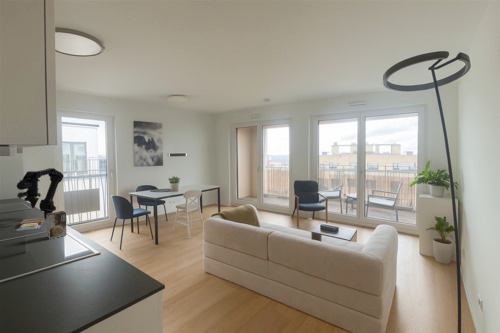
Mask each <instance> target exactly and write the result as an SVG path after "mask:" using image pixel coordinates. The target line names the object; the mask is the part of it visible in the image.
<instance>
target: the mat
mask: <svg viewBox="0 0 500 333" xmlns="http://www.w3.org/2000/svg"><path fill="white" fill-rule="evenodd" d="M41 227H42V225H38V226H37V227H36V228H29V229H21V227H18V228H17V229H16V232H20V231H27V230H29V231H30V230H38V229H40V228H41Z"/></svg>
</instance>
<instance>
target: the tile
mask: <svg viewBox="0 0 500 333" xmlns="http://www.w3.org/2000/svg"><path fill="white" fill-rule="evenodd" d="M37 226H38V223H30V224H23V225H22V226H21V229H29V228H36V227H37Z"/></svg>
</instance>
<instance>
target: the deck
mask: <svg viewBox="0 0 500 333" xmlns="http://www.w3.org/2000/svg"><path fill="white" fill-rule="evenodd" d="M45 222H46V219H45V217H44V216H43V217H33V218H32V217H31V218H23V220H21V221H20V223H19V224H18V225H19V227H21V226H22V225H23V224H30V223H38V225H41V226H42V225H43V224H44V223H45ZM19 227H18V228H19Z"/></svg>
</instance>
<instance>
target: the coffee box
mask: <svg viewBox="0 0 500 333" xmlns="http://www.w3.org/2000/svg"><path fill="white" fill-rule="evenodd" d="M45 222H46V238H47V237H48V238H49V239H48V238H47V239H48V240H53V239H52V238H55V239H57V238H56V237H59V238H61V237H60V236H63V237H66V236H65V235H68V234H67V212H66V211H64V210H60V211H53V212H52V213H46V219H45Z"/></svg>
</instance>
